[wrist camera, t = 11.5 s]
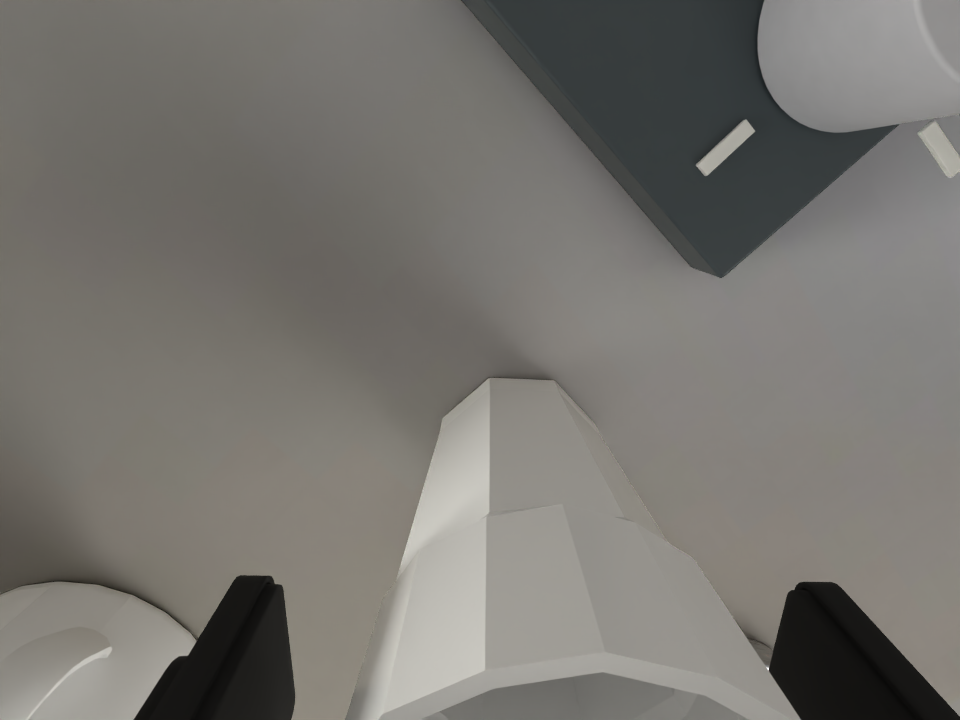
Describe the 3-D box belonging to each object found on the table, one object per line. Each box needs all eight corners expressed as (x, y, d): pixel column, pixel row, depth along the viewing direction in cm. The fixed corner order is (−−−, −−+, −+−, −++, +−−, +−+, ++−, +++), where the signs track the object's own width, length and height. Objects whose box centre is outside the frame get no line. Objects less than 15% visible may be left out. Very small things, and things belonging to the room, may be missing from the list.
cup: (641, 502, 18) (875, 955, 7) (457, 559, 18) (428, 1047, 8) (585, 322, 16) (793, 584, 5) (382, 392, 16) (212, 747, 6)
